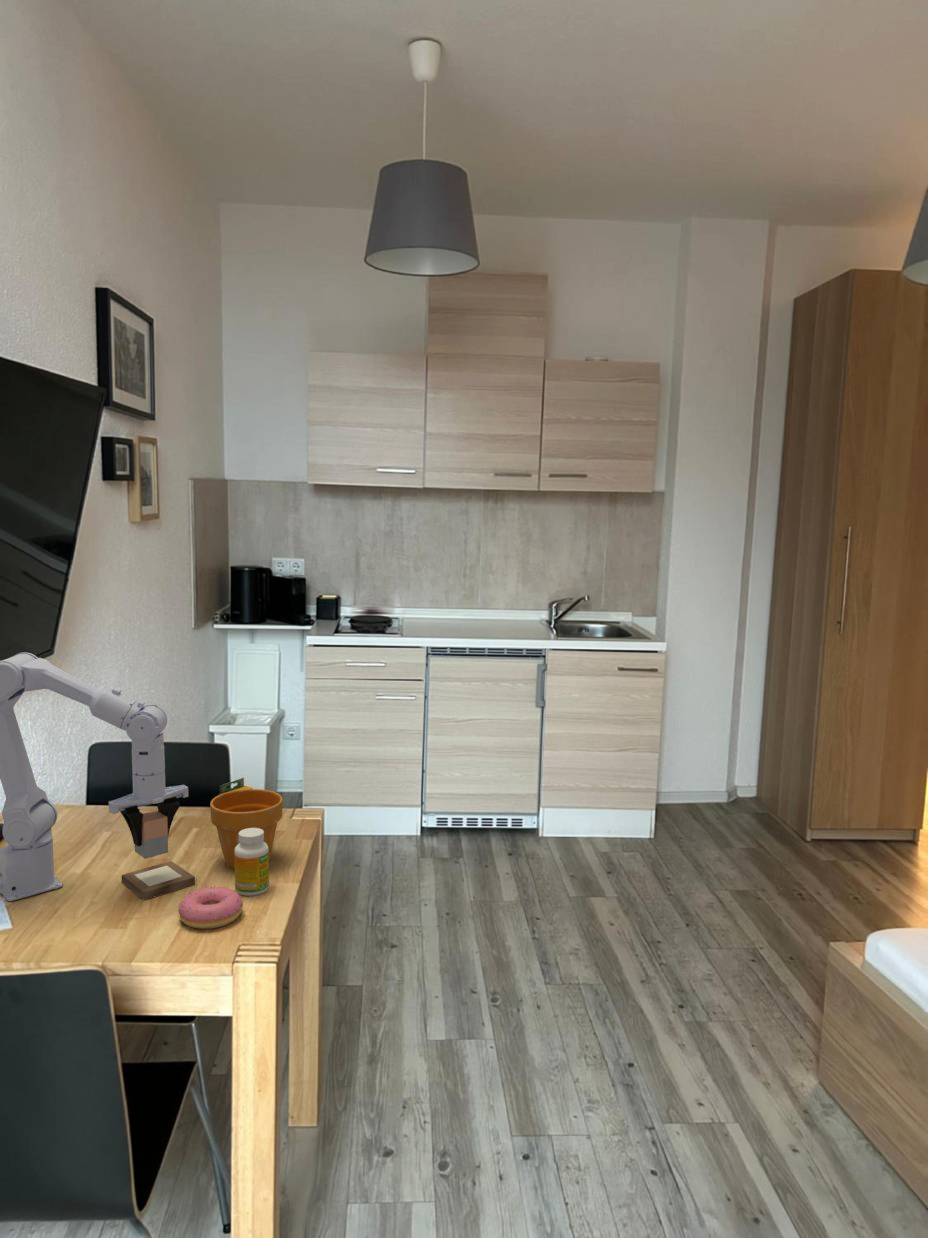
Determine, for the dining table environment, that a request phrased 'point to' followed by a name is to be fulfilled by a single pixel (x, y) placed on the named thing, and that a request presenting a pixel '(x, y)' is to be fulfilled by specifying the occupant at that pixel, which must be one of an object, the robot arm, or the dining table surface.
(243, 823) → the flower pot
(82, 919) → the dining table surface
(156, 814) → the block stack
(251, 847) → the supplement bottle
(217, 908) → the doughnut
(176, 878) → the walnut board
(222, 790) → the crayon box
